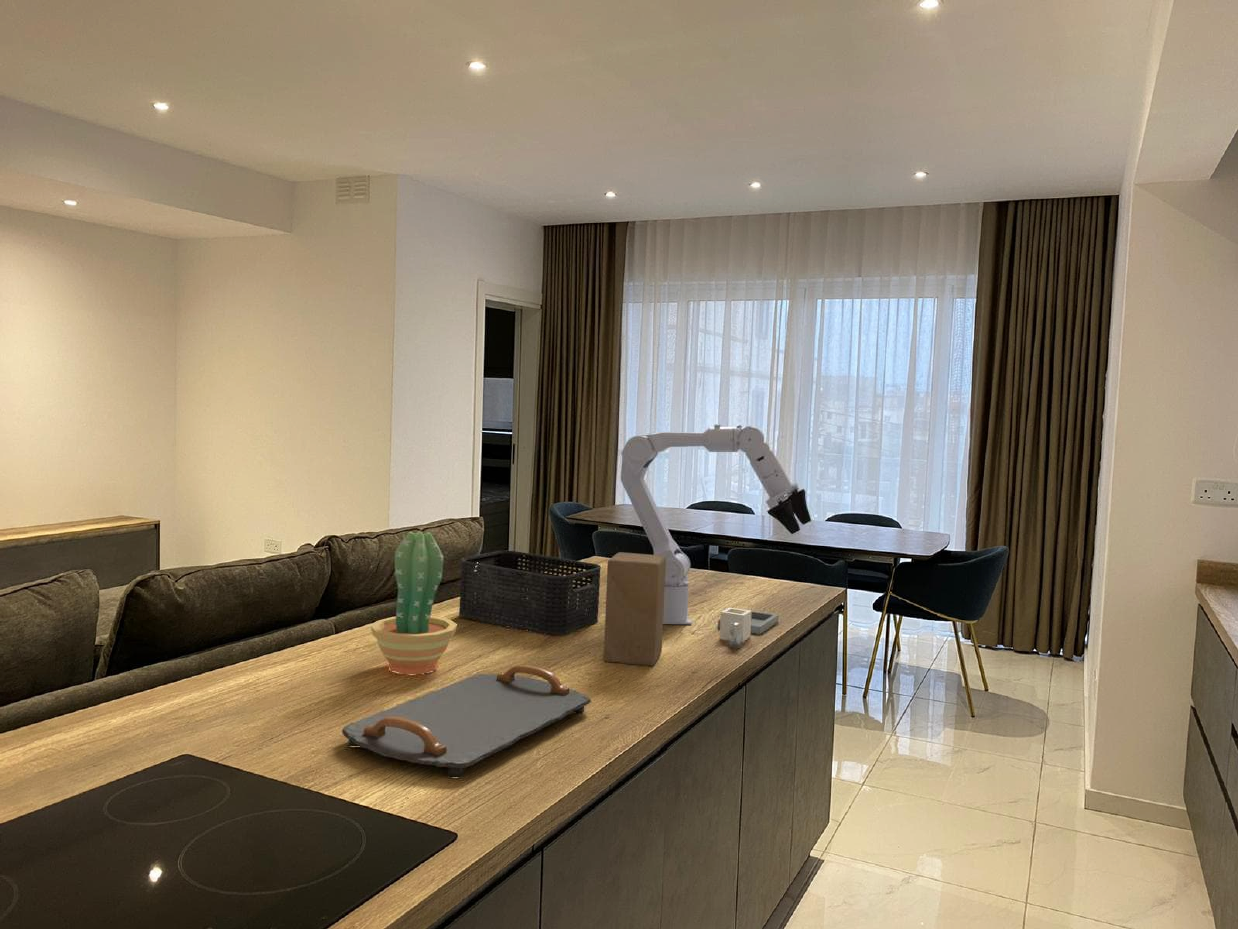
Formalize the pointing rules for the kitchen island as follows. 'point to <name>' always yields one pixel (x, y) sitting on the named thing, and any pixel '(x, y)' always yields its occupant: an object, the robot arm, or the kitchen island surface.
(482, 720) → the serving board
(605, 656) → the wooden block
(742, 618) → the cream block
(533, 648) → the kitchen island surface
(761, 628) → the tray
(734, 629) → the cylinder
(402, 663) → the potted cactus
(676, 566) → the robot arm
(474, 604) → the storage bin
